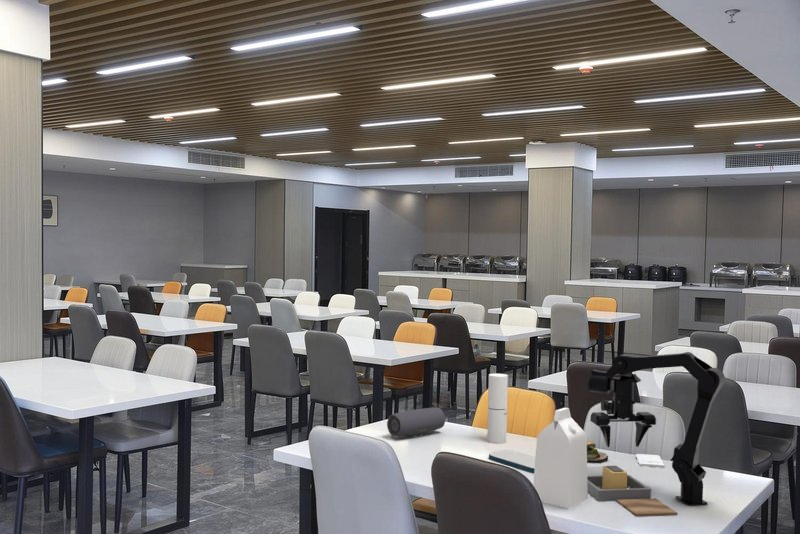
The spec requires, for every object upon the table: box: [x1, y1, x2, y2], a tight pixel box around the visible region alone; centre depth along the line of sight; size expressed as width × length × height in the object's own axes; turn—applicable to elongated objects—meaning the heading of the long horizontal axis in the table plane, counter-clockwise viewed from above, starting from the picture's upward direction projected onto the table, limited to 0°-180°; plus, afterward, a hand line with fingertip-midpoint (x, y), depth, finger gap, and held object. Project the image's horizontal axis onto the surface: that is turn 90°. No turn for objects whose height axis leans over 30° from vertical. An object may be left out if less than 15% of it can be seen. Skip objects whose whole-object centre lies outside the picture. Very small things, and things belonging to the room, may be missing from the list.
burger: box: [587, 440, 609, 462], centre depth 257 cm, size 12×12×8 cm
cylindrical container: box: [486, 373, 509, 444], centre depth 278 cm, size 7×7×25 cm
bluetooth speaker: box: [386, 407, 446, 438], centre depth 285 cm, size 23×9×10 cm, turn 130°
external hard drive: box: [488, 449, 536, 474], centre depth 249 cm, size 24×12×2 cm, turn 40°
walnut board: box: [616, 497, 678, 517], centre depth 207 cm, size 12×12×1 cm
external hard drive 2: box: [634, 453, 666, 469], centre depth 254 cm, size 2×8×12 cm
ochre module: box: [601, 465, 628, 489], centre depth 220 cm, size 7×4×7 cm, turn 9°
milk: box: [532, 407, 589, 510], centre depth 213 cm, size 12×12×26 cm
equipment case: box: [587, 465, 652, 502], centre depth 227 cm, size 28×16×3 cm, turn 9°
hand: (622, 446), depth 225 cm, fingers open, 9 cm apart
